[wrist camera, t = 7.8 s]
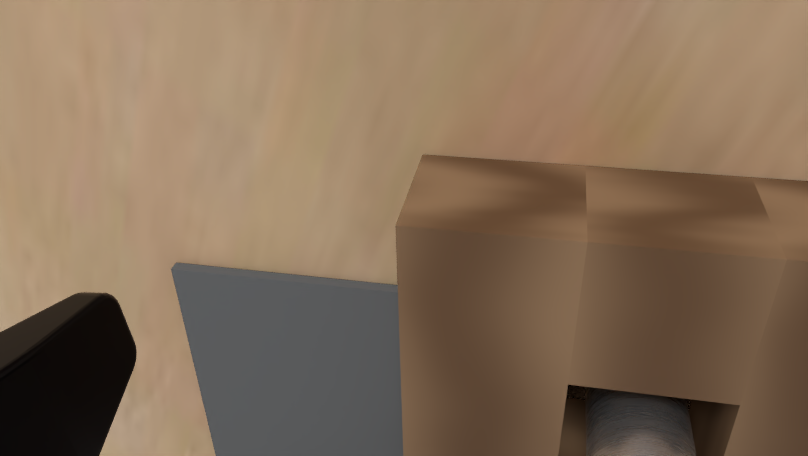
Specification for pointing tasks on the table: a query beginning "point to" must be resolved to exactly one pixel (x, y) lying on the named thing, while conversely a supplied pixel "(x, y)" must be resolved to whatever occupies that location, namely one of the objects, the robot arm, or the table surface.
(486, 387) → the hole block
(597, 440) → the peg
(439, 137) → the table surface
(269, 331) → the panel
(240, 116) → the table surface
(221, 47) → the table surface
